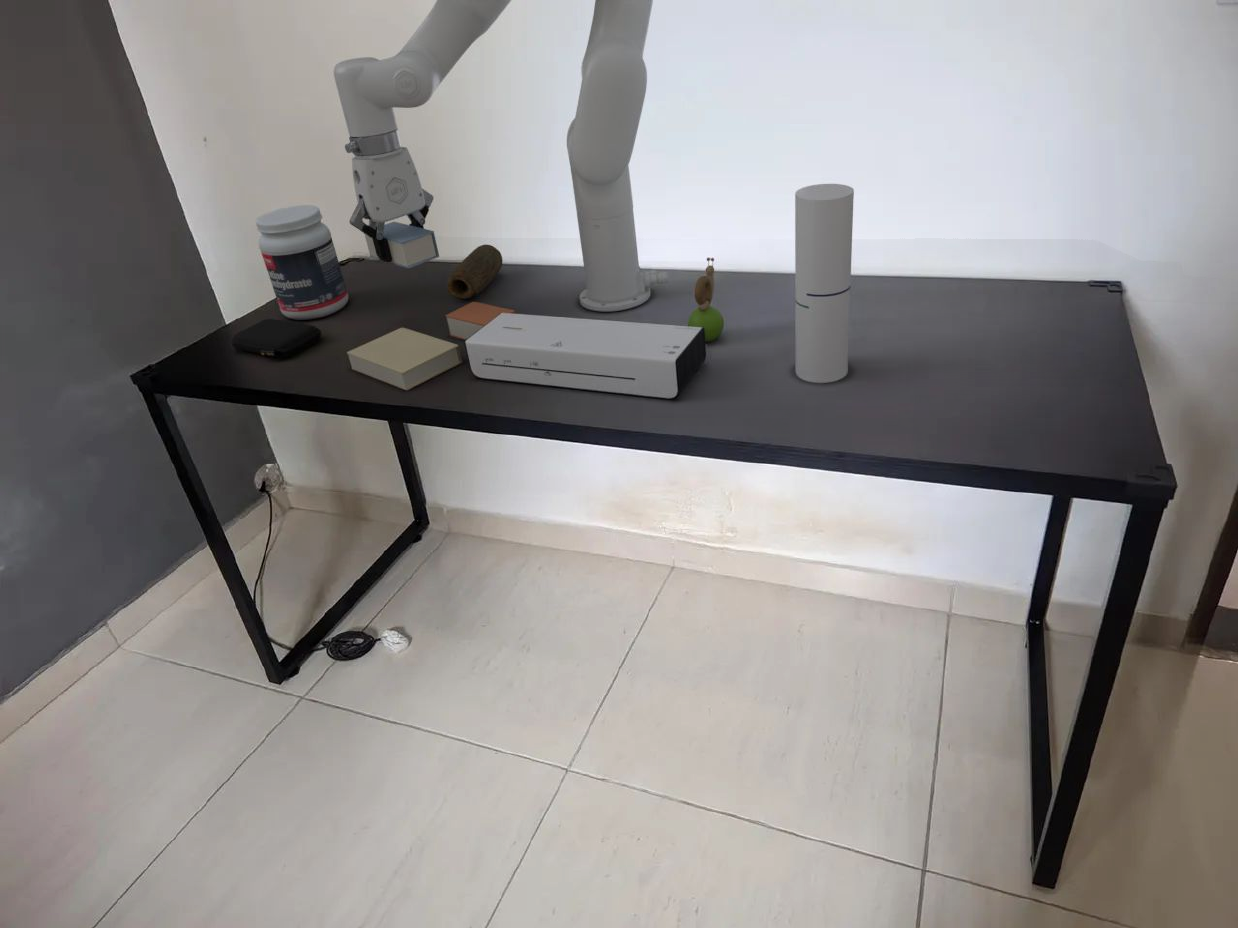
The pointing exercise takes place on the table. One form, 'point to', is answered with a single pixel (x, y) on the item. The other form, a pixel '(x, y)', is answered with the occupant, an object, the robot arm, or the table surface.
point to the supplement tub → (301, 262)
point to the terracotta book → (472, 318)
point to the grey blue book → (407, 244)
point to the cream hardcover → (405, 358)
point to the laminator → (587, 354)
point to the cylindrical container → (822, 281)
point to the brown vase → (475, 272)
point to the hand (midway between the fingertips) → (403, 253)
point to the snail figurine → (706, 307)
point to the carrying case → (276, 338)
